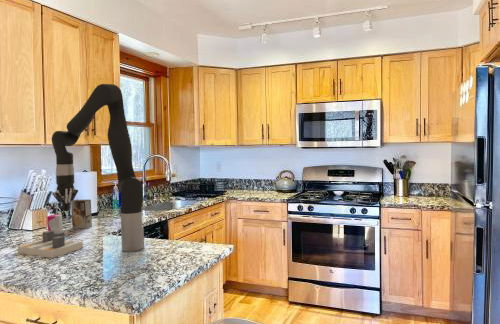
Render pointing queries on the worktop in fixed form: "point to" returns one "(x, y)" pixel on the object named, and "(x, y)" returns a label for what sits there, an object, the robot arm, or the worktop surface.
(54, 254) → the switch panel
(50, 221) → the supplement box
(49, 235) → the tab
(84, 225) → the coffee box
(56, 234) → the tab
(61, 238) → the tab
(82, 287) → the worktop surface
